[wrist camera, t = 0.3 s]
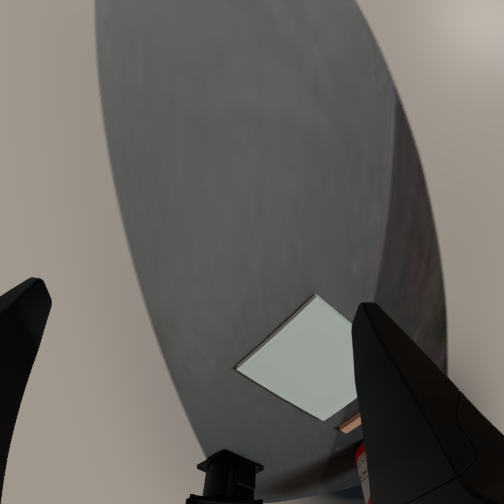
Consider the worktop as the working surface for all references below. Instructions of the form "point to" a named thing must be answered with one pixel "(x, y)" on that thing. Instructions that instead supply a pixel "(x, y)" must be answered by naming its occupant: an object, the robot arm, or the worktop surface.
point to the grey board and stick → (308, 362)
